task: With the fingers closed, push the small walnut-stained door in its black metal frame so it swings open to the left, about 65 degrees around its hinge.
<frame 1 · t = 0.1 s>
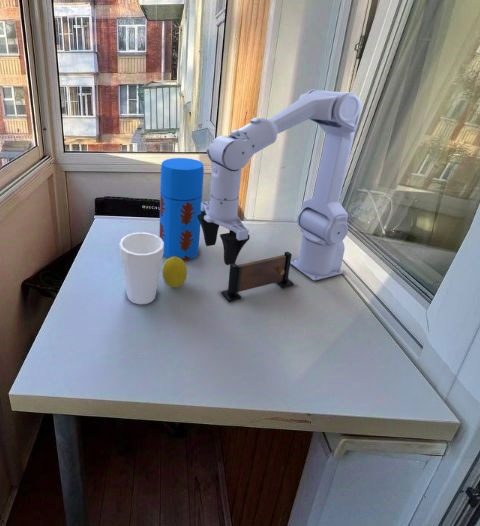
hand: (219, 253, 72), 10 cm above the table, tool pointing down, fingers open, 7 cm apart
foam cup: (141, 295, 74), on the table
lemon: (174, 287, 77), on the table
door frame: (236, 294, 74), on the table
thermos: (178, 250, 92), on the table
door: (261, 274, 74), point 4 cm above the table, hinge at 0.0°
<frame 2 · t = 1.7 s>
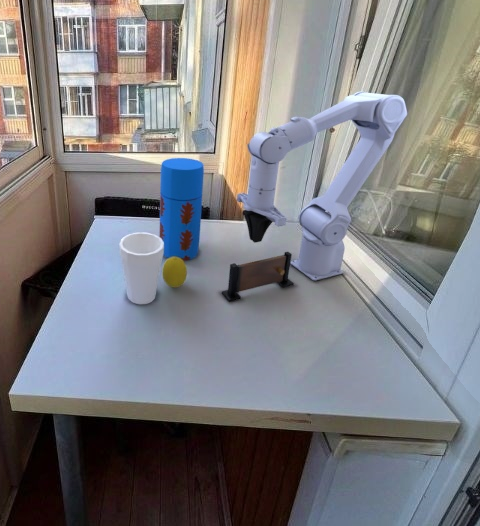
hand: (255, 240, 78), 9 cm above the table, tool pointing down, fingers closed
nothing on the table moved.
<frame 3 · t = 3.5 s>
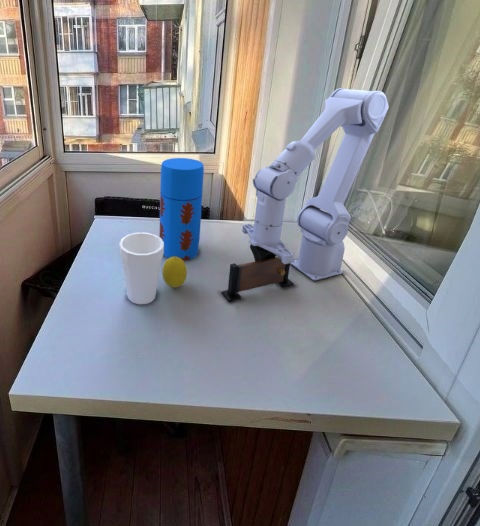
hand: (261, 273, 77), 2 cm above the table, tool pointing down, fingers closed
door: (261, 274, 74), point 4 cm above the table, hinge at 1.2°, touching gripper
everything else where it was.
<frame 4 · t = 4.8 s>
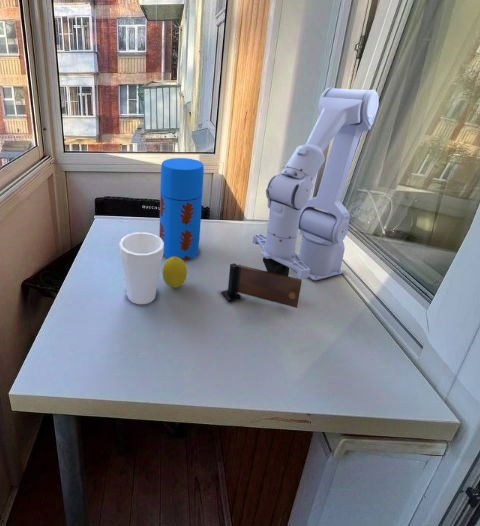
hand: (273, 287, 73), 2 cm above the table, tool pointing down, fingers closed
door: (266, 286, 70), point 4 cm above the table, hinge at 43.6°, touching gripper
everything else where it was.
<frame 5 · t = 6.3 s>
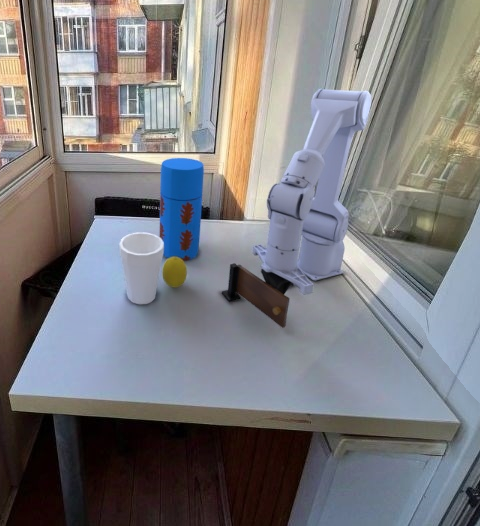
hand: (274, 301, 68), 2 cm above the table, tool pointing down, fingers closed
door: (257, 294, 68), point 4 cm above the table, hinge at 79.5°, touching gripper
everything else where it was.
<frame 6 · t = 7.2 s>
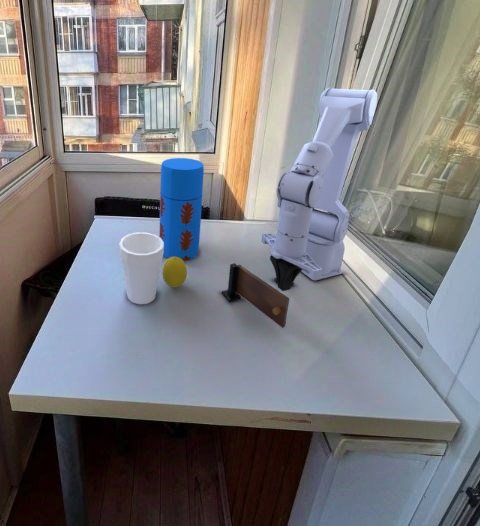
hand: (283, 288, 70), 4 cm above the table, tool pointing down, fingers closed
door: (257, 294, 68), point 4 cm above the table, hinge at 79.7°
everything else where it was.
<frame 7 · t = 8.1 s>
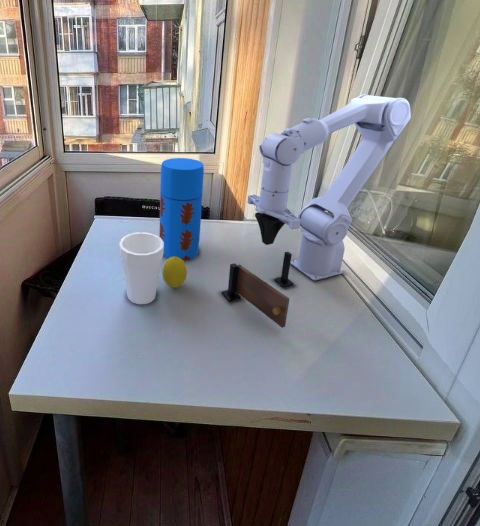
hand: (267, 242, 77), 9 cm above the table, tool pointing down, fingers closed
nothing on the table moved.
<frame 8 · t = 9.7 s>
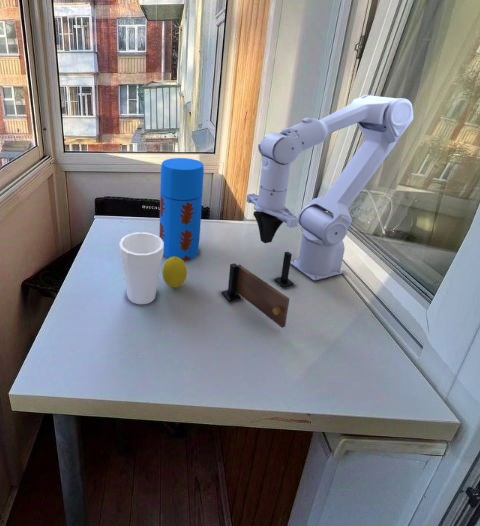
hand: (266, 241, 78), 9 cm above the table, tool pointing down, fingers closed
nothing on the table moved.
at the end: door at +80° (first picture: +0°) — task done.
